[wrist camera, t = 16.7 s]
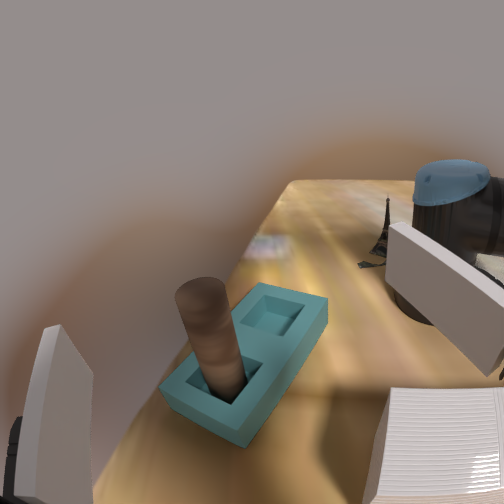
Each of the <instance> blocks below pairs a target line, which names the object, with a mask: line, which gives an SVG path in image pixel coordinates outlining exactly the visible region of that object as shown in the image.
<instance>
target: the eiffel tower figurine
mask: <svg viewBox="0 0 504 504" xmlns="http://www.w3.org/2000/svg"><path fill="white" fill-rule="evenodd" d="M389 201H390V199H389V198H387V199H386V202H387V205H386V215H385V223H384V228H383V229H382V230H383V231H382V234H381V237H380V238H379V239H378V242H377V244H376V245H375V246H374V248H373V249H372V250H371V251H370V252H369V253H372V254H375V255H379V256H382V257H385V258H387V247H388V230H389V225H390V214H389ZM386 234H387V235H386ZM386 261H387V260H386ZM386 261H385V262H384V263H382V264H381V265H377V264H371V263H368V262H365V261H363V262H360V263H357V264H358V266H359V268H365V267H374V266H382V265H386Z"/></svg>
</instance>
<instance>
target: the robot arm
mask: <svg viewBox="0 0 504 504" xmlns="http://www.w3.org/2000/svg"><path fill="white" fill-rule="evenodd" d="M413 202H414V209H413V221H412V227H411V226H409V225H408V224H406V223H404V222H403V221H401V222H398V223H395V224H392V225H389V230H388V247H387V261H386V273H385V281H386V282H387V283H388V284H389V285H390V286H392V287H393V288H394V289H395V292H394V295H395V300H396V302H397V304H398V306H399V307H400V308H401V310H402V311H403V312H404V313H406V314H407V315H408V316H410V317H411V318H413V319H415V320H417V321H419V322H422V323H425V324H429V325H434V326H435V327H436V328H437V329H438V330H440V331H441V332H442V333H443V334H444V335H445V336H446V337H447V338H448V339H449V340H450V341H451V342H452V343H453V344H454V345H455V346H456V347H457V348H458V349H459V350H460V351H461V352H462V353H463V354H464V355H465V356H466V357H467V358H468V359H469V360H470V361H471V362H472V363H473V364H474V365H475V366H476V367H477V368H478V369H479V370H480V371H481V372H482V373H483V374H484V375H485V376H486V377H488V376H489V375H490V374H491V373H492V372H493V371H494V370H496V369H497V368H498V367H499V365H500V364H501V362H502V360H503V358H504V285H503V283H502V282H500V281H499V280H498V279H495V277H493V276H492V275H491V274H489V273H488V272H486V271H485V270H482V269H480V268H477V267H475V261H476V256H477V253H480V254H487V255H493V256H499V257H504V178H498V177H491V176H490V173H489V170H488V168H487V167H486V166H485V165H483V164H480V163H478V162H471V161H468V160H441V161H435V162H432V163H429V164H426V165H424V166H423V167H421V168H420V169H419V171H418V172H417V174H416V178H415V189H414V194H413ZM503 377H504V368H503V370H502V372H501V374H500V376H499V380H502V379H503ZM92 387H93V372H92V371H91V370H90V368H89V367H88V366H87V364H86V362H85V361H84V360H83V358H82V357H81V355H80V354H79V352H78V351H77V349H76V348H75V346H74V345H73V343H72V342H71V340H70V338H69V337H68V335H67V334H66V332H65V330H64V329H63V327H62V326H61V324H59V325H56V326H52V327H49V328H45V329H44V332H43V335H42V339H41V342H40V345H39V349H38V353H37V356H36V360H35V364H34V368H33V372H32V376H31V380H30V384H29V389H28V393H27V398H26V403H25V408H24V414H23V416H21V417H17V418H16V420H15V422H14V424H13V426H12V428H11V431H10V437H9V446H8V450H7V455H8V457H6V466H5V475H4V486H3V497H2V496H0V504H93V493H92V475H91V405H92Z"/></svg>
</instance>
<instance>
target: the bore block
mask: <svg viewBox="0 0 504 504" xmlns="http://www.w3.org/2000/svg"><path fill="white" fill-rule="evenodd" d="M231 315H232V320H233V324H234V328H235V332H236V336H237V340H238V345H239V349H240V353H241V357H242V361H243V365H244V369H245V373H246V377H247V381H248V384H247V385H246V387H245V388H244V389H243V391H242V392H241V393H240V394H239V396H238V397H237V398H236V399H235V401H234V402H233V403H232V405H230V404H228V403H226V402H224V401H222V400H219V399H217V398H215V397H213V396H211V393H210V391H209V388H208V386H207V384H206V381H205V379H204V376H203V374H202V371H201V369H200V366H199V363H198V361H197V358H196V356H195V353H194V351H193V352H192V353H191V354H190V355H189V356H188V357H187V358H186V359H185V360H184V361H183V362H182V363H181V364H180V365H179V366H178V367H177V368H176V369H175V370H174V371H173V372H172V373H171V374H170V375H169V376H168V377H167V378H166V379H165V380H164V381H163V382H162V383H161V384H160V385H159V386H158V388H159V390H160V391H161V393H162V395H163V396H164V398H165V400H166V401H167V403H168V404H169V406H170V408H171V409H173V410H174V411H176V412H178V413H179V414H181V415H183V416H184V417H186V418H188V419H189V420H191V421H193V422H195V423H196V424H198V425H200V426H202V427H203V428H205V429H207V430H209V431H211V432H213V433H214V434H216V435H218V436H220V437H222V438H224V439H226V440H228V441H230V442H232V443H234V444H236V445H238V446H240V447H242V448H244V449H246V447H247V446H248V444H249V443H250V442H251V440H252V439H253V438H254V436H255V435H256V434H257V432H258V431H259V429H260V428H261V427H262V425H263V424H264V422H265V421H266V419H267V418H268V417H269V415H270V414H271V412H272V411H273V409H274V408H275V406H276V405H277V403H278V402H279V400H280V399H281V397H282V396H283V394H284V393H285V391H286V390H287V388H288V387H289V385H290V384H291V382H292V381H293V379H294V378H295V376H296V375H297V373H298V371H299V370H300V368H301V367H302V365H303V363H304V362H305V360H306V359H307V357H308V355H309V354H310V352H311V351H312V349H313V347H314V346H315V344H316V342H317V341H318V339H319V337H320V336H321V334H322V332H323V330H324V329H325V327H326V325H327V324H328V298H324V297H320V296H315V295H311V294H307V293H302V292H298V291H294V290H289V289H285V288H281V287H277V286H272V285H268V284H264V283H260V282H259V283H258V284H257V285H256V286H255V287H254V288H253V289H252V290H251V291H250V292H249V293H248V294H247V295H246V296H245V298H244V299H243V300H242V301H241V302H240V303H239V304H238V305H237V306H236V307H235V308H234V309H233V310H232V311H231Z"/></svg>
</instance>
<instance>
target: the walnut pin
mask: <svg viewBox="0 0 504 504" xmlns="http://www.w3.org/2000/svg"><path fill="white" fill-rule="evenodd" d="M175 301H176V304H177V306H178V309H179V312H180V315H181V318H182V321H183V323H184V326H185V329H186V332H187V334H188V337H189V340H190V343H191V345H192V348H193V351H194V353H195V356H196V358H197V361H198V363H199V366H200V369H201V371H202V374H203V376H204V379H205V381H206V384H207V386H208V388H209V391H210V393H211V396H213V397H215V398H217V399H219V400H222V401H224V402H226V403H228V404H230V405H232V403H233V402H234V401H235V399H236V398H237V397H238V396H239V394H240V393H241V392H242V391H243V389H244V388H245V387H246V385H247V384H248V381H247V377H246V373H245V369H244V365H243V361H242V357H241V353H240V349H239V345H238V340H237V336H236V332H235V328H234V324H233V320H232V315H231V311H230V307H229V303H228V298H227V294H226V290H225V286H224V284H223V282H222V281H220V280H219V279H216V278H212V277H202V278H197V279H193V280H191V281H188V282H186V283H185V284H183V285H182V286H181V287H180V288H179V289H178V290H177V291H176V293H175Z"/></svg>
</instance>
